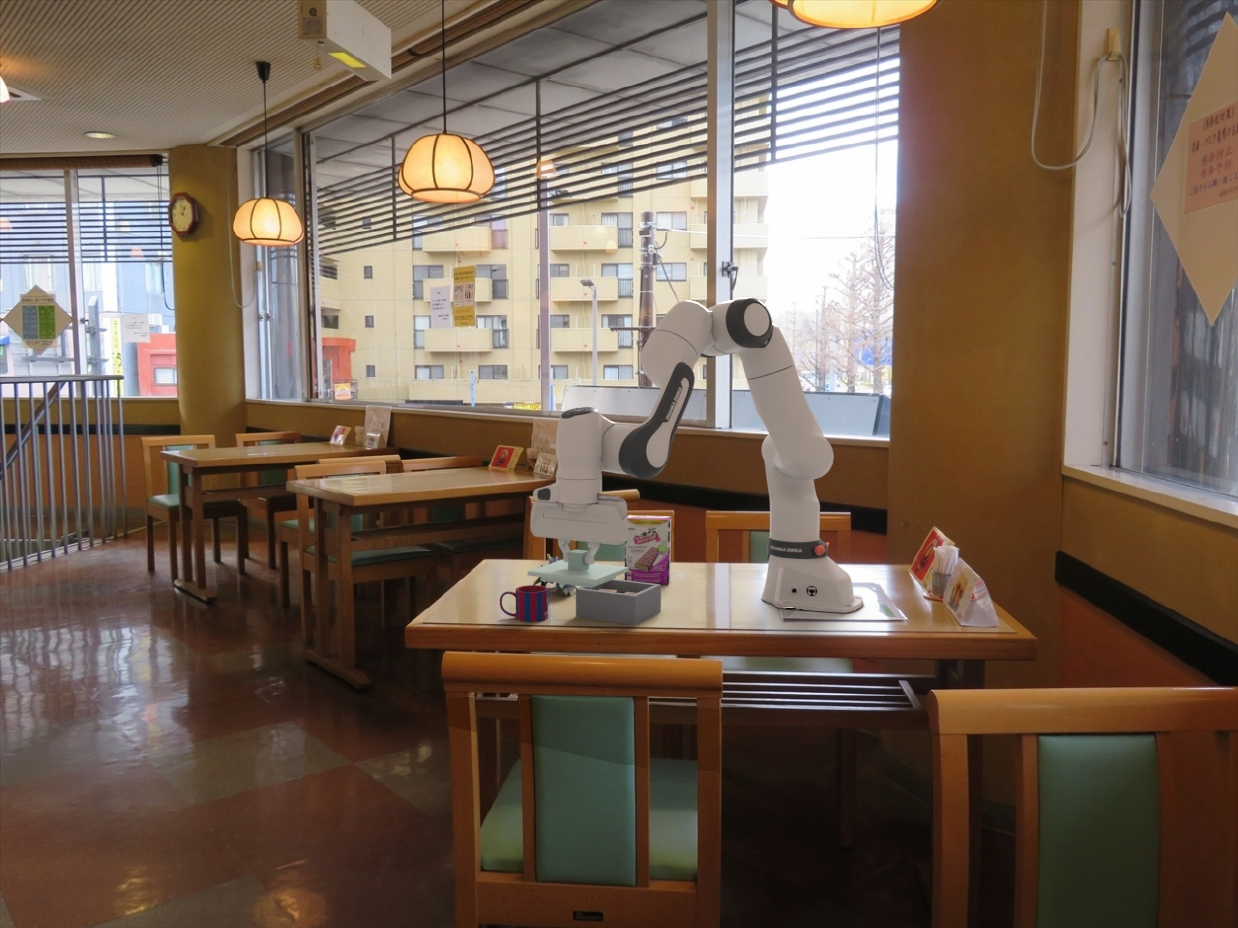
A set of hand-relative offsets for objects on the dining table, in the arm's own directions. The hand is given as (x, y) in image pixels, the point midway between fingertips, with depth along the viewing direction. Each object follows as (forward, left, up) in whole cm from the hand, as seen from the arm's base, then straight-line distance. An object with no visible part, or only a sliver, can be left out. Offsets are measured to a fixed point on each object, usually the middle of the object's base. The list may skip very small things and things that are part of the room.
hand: (578, 563), depth 183 cm
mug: (+17, -6, -15) cm, 23 cm away
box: (+1, -18, -15) cm, 23 cm away
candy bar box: (+10, -50, -15) cm, 53 cm away
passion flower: (+23, -28, -15) cm, 39 cm away
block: (+4, -18, -14) cm, 23 cm away
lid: (0, 0, -3) cm, 3 cm away
